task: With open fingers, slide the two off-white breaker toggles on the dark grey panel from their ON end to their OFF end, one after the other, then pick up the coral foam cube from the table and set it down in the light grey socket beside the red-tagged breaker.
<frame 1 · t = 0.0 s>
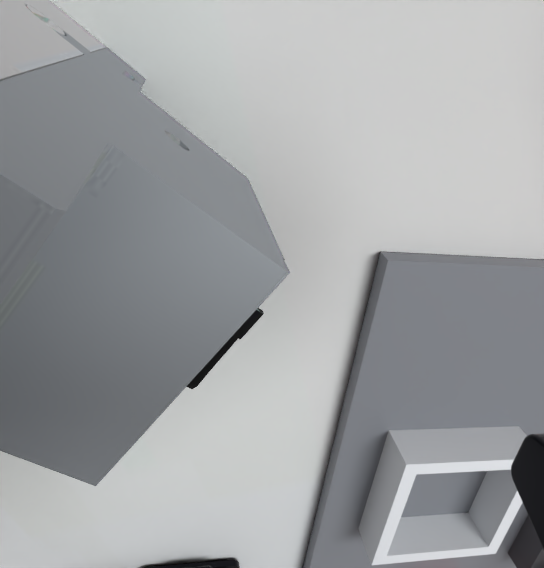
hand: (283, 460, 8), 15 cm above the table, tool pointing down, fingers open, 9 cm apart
circuit breaker: (68, 139, 19), on the table
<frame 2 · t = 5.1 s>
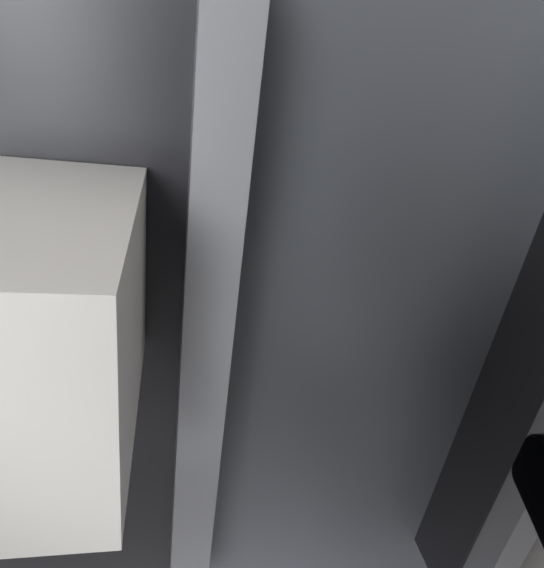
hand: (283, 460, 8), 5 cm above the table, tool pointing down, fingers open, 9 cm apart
panel: (321, 507, 16), on the table
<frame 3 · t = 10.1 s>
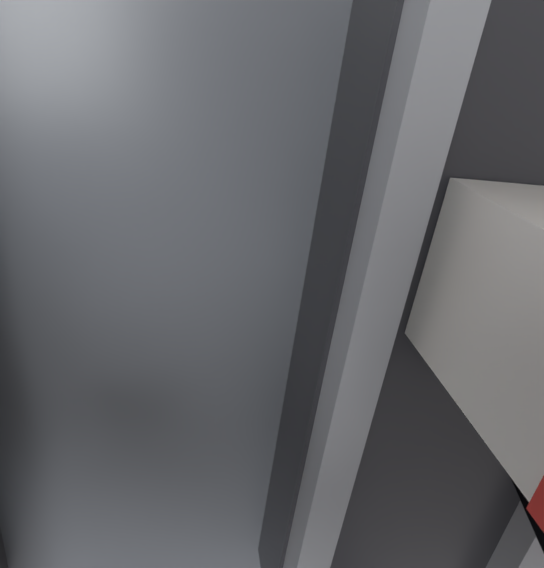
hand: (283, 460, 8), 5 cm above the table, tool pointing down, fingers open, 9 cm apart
panel: (158, 515, 15), on the table
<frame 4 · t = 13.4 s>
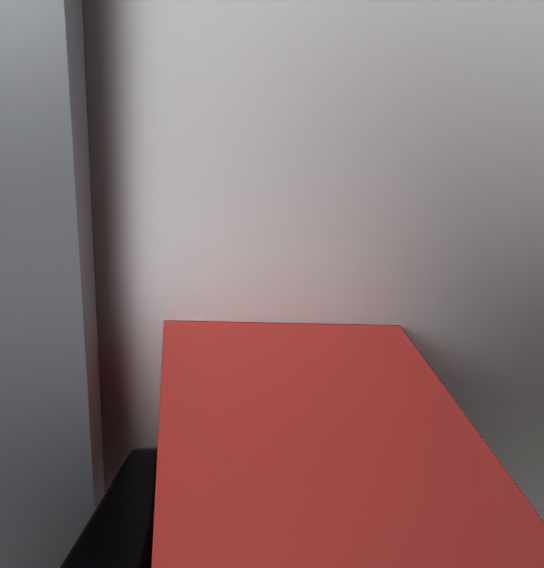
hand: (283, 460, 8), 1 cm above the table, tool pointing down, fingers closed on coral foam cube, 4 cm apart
coral foam cube: (272, 415, 9), on the table, touching gripper
when the fingers open (4 cm above the table, at t = 17.5 s): coral foam cube drops 2 cm, resting on panel.
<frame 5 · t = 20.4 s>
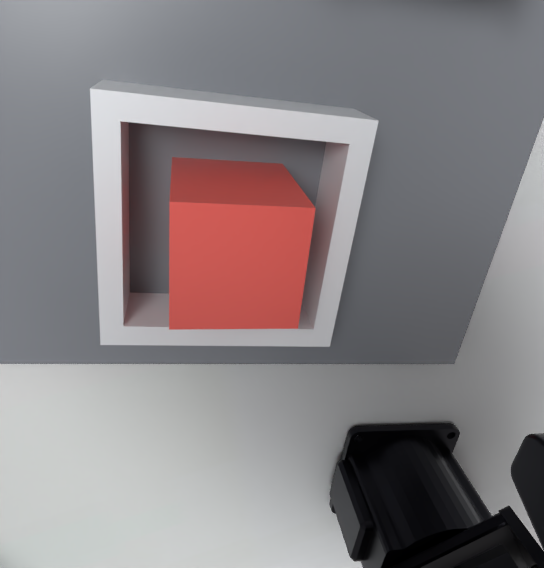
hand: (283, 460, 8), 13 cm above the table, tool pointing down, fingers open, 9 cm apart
coral foam cube: (225, 213, 18), point 1 cm above the table, touching panel
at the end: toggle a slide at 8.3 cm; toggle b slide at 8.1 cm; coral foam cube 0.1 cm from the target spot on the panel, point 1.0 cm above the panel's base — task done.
